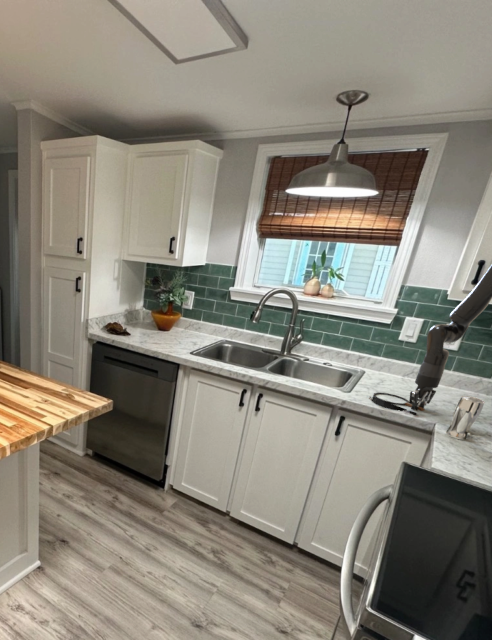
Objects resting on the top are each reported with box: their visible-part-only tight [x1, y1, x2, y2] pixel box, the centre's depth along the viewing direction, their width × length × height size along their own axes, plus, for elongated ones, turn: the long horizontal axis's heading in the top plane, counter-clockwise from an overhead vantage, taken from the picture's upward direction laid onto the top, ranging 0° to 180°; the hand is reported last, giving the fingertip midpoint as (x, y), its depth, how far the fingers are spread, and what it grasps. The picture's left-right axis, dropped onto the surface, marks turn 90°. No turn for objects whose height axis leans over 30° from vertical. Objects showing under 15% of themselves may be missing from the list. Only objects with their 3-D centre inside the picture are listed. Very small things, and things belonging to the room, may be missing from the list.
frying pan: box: [371, 392, 426, 412], centre depth 174 cm, size 20×13×4 cm, turn 24°
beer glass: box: [445, 395, 486, 441], centre depth 149 cm, size 7×7×15 cm
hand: (415, 413), depth 168 cm, fingers open, 3 cm apart
